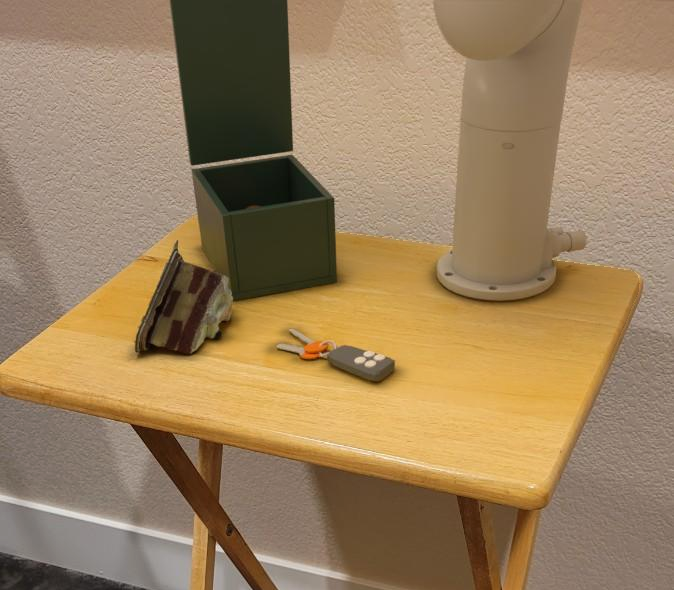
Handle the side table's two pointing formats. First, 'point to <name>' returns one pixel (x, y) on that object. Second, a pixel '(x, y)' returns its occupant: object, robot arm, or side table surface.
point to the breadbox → (266, 225)
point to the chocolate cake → (185, 307)
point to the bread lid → (234, 77)
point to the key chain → (345, 357)
